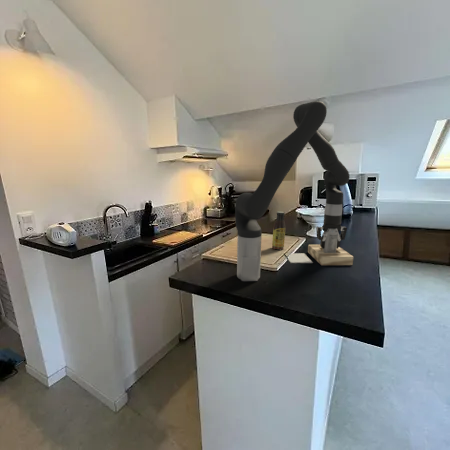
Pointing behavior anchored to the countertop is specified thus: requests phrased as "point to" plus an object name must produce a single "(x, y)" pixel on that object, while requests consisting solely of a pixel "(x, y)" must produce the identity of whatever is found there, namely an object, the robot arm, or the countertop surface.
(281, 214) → the sauce bottle
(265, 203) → the robot arm
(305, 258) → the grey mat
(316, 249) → the socket block
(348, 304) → the countertop surface
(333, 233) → the energy drink can
